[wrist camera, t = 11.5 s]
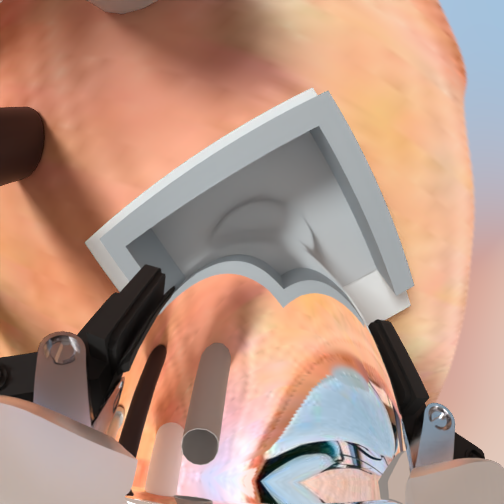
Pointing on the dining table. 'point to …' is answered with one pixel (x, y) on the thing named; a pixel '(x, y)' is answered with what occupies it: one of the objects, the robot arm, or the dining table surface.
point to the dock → (270, 189)
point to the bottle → (19, 143)
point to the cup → (121, 5)
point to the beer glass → (258, 381)
